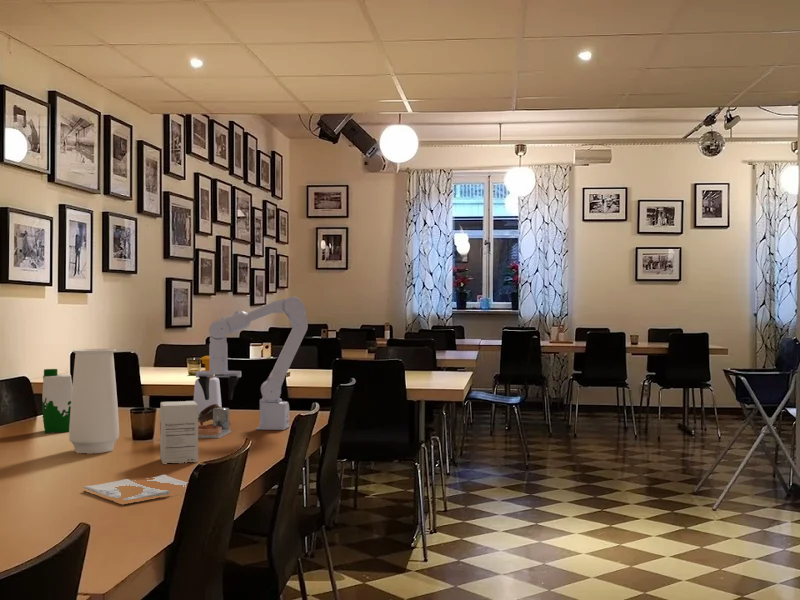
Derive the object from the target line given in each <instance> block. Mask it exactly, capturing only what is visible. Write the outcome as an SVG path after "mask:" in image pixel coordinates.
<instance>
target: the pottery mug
mask: <svg viewBox="0 0 800 600" xmlns="http://www.w3.org/2000/svg"><path fill="white" fill-rule="evenodd" d="M214 408H223V407H220V406H218V404H213V405H210V406H208V407H207V408H205V409H204V410H202V411H201V412H200V414H199V417H200V418H199V424H200V426H204V423H205V422H209V421H210V420H212V421H213V409H214ZM210 410H211V411H210ZM230 425H231V421H230V420H229V426H230Z"/></svg>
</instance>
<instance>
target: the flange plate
mask: <svg viewBox="0 0 800 600" xmlns="http://www.w3.org/2000/svg"><path fill="white" fill-rule="evenodd" d="M230 433H232V429H229V430H224V429H222V427H221V426H217V425H213V424H212V425H207V424H205V425H204V424H203V426H201V425H198V439H219V438H222V437H224V436H226V435H228V434H230Z"/></svg>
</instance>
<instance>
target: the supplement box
mask: <svg viewBox="0 0 800 600" xmlns="http://www.w3.org/2000/svg"><path fill="white" fill-rule="evenodd" d="M159 407H160V408H159V409H160V410H159V412H160V413H159V414H160V415H159V417H160V419H159V422H160V424H159V425H160V426H159V427H160V428H159V429H160V430H159V431H160V434H159V435H160V437H159V439H160V441H159V443H160V452H159V453H160V456H159V457H160V460H161V463H162V465H163V464H165V463H179V464H188V463H187V462H194V463H198V462H199V438H198V426H199V418H198V405H197V404H196V402H194V400H185V401H183V400H182V401H181V400H180V401H160V406H159ZM184 462H185V463H184ZM165 465H166V464H165Z"/></svg>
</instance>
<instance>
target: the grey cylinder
mask: <svg viewBox="0 0 800 600" xmlns="http://www.w3.org/2000/svg"><path fill="white" fill-rule="evenodd" d="M229 421H230V408H229V407H222V408H214V409H213V420H212V425H217V426H221V427H222V429H224V430H230V425H229Z"/></svg>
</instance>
